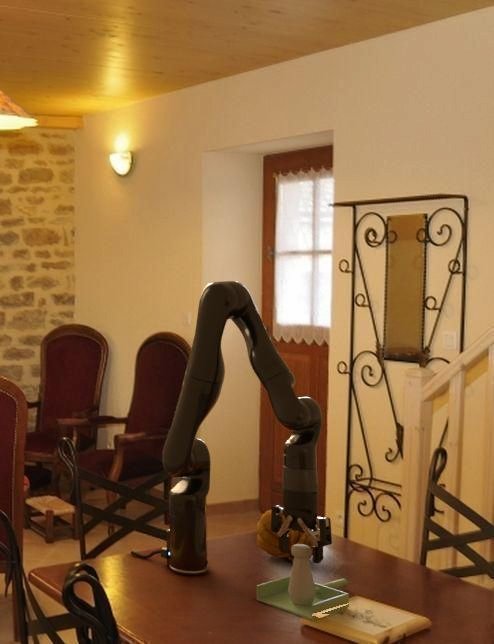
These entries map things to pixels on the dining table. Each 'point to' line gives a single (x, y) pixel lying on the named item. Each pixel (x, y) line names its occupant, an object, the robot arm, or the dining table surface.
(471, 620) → the dining table surface
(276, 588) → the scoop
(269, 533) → the pumpkin
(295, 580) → the salt shaker
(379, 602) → the dining table surface
